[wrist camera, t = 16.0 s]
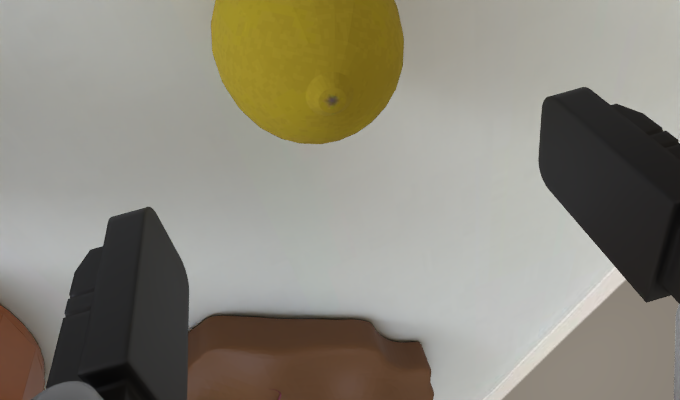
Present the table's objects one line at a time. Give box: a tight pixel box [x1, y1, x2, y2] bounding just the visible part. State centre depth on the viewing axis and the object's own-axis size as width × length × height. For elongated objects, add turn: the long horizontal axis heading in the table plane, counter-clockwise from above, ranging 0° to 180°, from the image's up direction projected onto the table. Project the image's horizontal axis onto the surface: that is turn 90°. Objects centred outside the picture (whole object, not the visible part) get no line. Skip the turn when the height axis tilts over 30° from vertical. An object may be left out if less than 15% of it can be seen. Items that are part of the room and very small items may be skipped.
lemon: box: [211, 0, 404, 144], centre depth 16 cm, size 6×6×8 cm
